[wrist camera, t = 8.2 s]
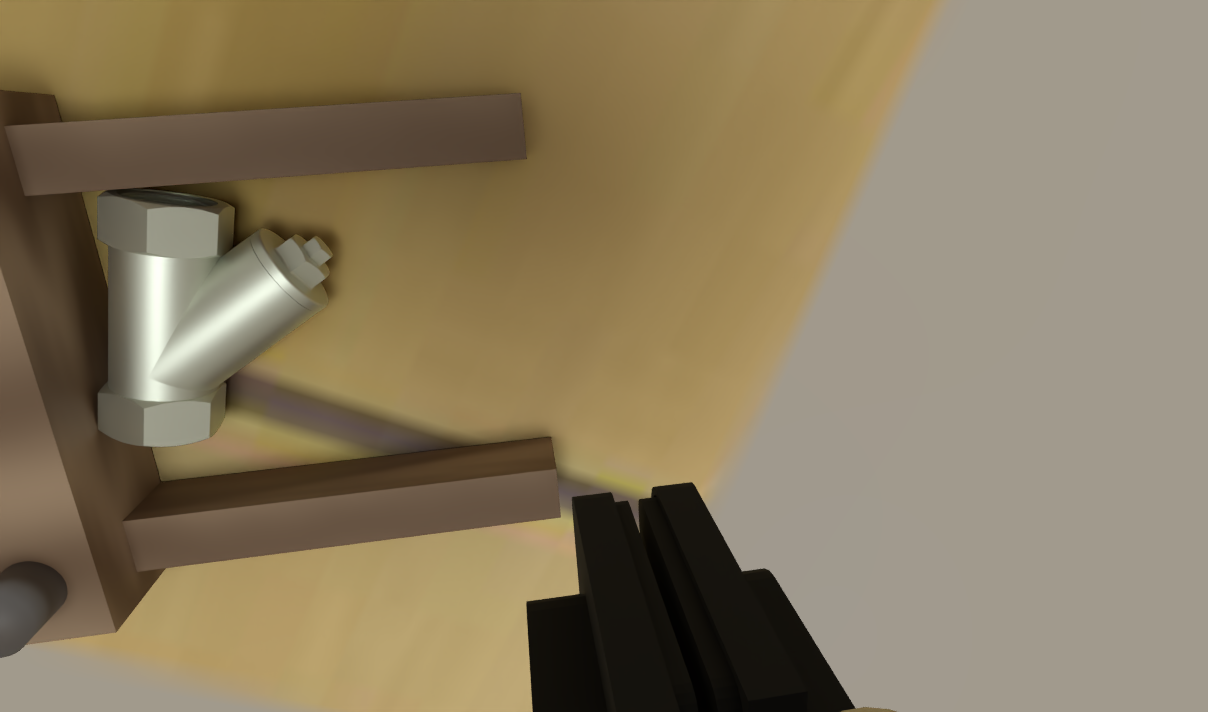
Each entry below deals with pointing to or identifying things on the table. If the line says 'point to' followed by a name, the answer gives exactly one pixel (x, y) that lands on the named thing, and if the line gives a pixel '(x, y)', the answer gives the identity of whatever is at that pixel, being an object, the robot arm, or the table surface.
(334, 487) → the bench jig
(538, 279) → the table surface
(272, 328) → the pipe fitting
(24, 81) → the table surface
